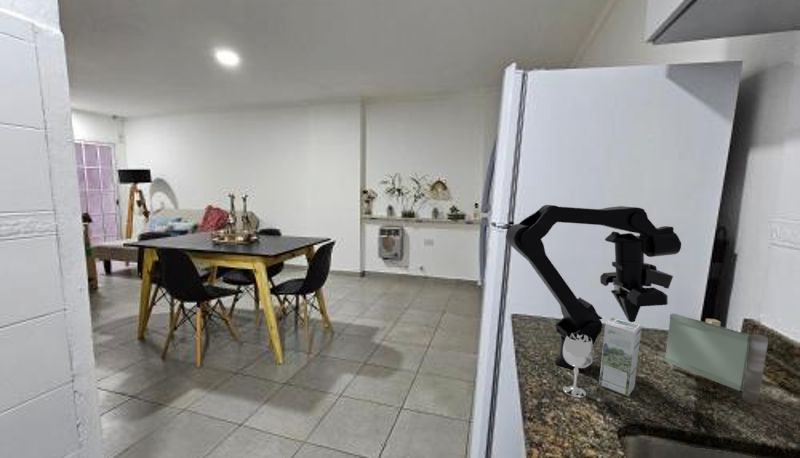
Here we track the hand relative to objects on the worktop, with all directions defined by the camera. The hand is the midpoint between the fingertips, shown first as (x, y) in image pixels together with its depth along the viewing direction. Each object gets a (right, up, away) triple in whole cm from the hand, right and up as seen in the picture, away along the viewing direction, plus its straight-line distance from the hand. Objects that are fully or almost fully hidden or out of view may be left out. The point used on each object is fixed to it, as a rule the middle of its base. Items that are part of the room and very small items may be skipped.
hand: (631, 321), depth 85 cm
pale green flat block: (+13, -11, -5) cm, 17 cm away
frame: (+18, -12, -5) cm, 23 cm away
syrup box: (-9, -12, -9) cm, 18 cm away
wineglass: (-20, -12, -11) cm, 25 cm away
